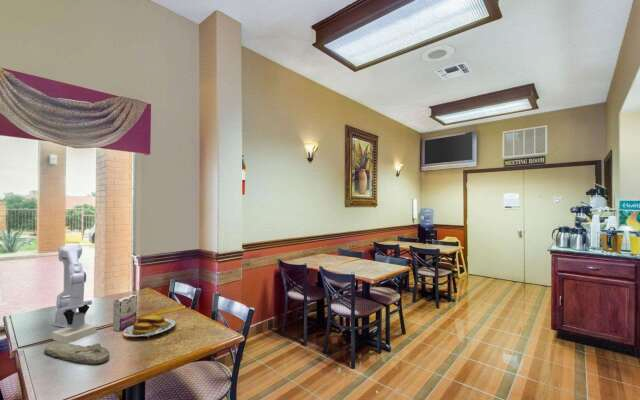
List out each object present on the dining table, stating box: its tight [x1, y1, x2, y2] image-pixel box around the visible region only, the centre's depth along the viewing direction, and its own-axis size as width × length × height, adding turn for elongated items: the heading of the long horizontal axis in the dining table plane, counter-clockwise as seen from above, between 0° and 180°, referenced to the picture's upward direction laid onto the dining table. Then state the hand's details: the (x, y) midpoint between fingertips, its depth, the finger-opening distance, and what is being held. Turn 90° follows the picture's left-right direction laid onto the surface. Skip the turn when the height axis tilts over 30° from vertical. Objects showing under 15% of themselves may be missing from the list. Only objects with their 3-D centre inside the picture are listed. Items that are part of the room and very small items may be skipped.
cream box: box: [51, 322, 98, 344], centre depth 153 cm, size 11×14×4 cm
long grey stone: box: [43, 341, 110, 365], centre depth 134 cm, size 35×5×10 cm
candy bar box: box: [112, 294, 138, 332], centre depth 166 cm, size 11×5×16 cm, turn 168°
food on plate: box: [122, 314, 176, 340], centre depth 162 cm, size 25×25×7 cm
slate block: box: [66, 311, 86, 328], centre depth 153 cm, size 5×5×6 cm
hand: (75, 322), depth 153 cm, fingers closed on slate block, 5 cm apart
